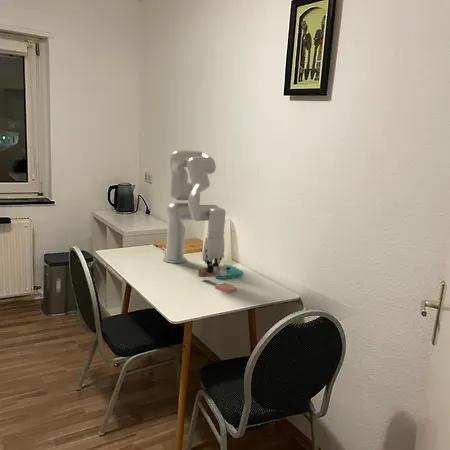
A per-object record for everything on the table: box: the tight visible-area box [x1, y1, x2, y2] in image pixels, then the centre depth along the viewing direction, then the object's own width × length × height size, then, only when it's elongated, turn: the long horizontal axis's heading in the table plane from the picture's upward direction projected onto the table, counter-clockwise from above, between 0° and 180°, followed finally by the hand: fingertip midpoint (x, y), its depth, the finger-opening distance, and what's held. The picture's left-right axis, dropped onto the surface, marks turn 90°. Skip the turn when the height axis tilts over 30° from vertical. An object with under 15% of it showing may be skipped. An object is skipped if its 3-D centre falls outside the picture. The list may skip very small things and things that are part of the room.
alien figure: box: [198, 263, 244, 281], centre depth 233 cm, size 20×2×20 cm
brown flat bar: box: [197, 265, 227, 278], centre depth 214 cm, size 16×3×4 cm, turn 46°
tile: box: [215, 282, 238, 294], centre depth 209 cm, size 2×6×8 cm
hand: (212, 272), depth 214 cm, fingers closed on brown flat bar, 3 cm apart
